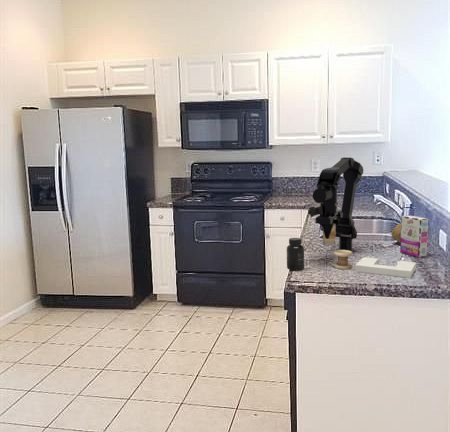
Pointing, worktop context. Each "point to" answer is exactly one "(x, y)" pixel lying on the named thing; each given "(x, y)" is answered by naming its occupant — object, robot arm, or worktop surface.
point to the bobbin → (342, 259)
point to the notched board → (385, 268)
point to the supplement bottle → (295, 254)
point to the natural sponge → (397, 233)
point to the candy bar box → (414, 236)
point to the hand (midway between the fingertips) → (329, 237)
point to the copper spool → (330, 237)
